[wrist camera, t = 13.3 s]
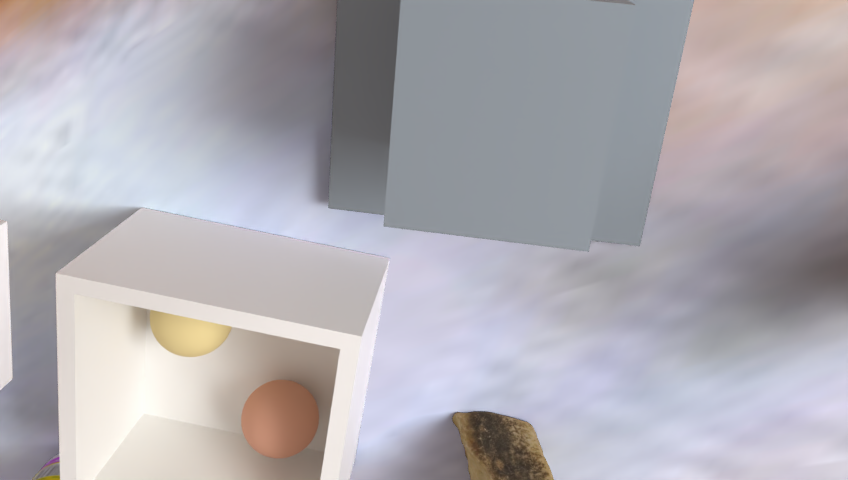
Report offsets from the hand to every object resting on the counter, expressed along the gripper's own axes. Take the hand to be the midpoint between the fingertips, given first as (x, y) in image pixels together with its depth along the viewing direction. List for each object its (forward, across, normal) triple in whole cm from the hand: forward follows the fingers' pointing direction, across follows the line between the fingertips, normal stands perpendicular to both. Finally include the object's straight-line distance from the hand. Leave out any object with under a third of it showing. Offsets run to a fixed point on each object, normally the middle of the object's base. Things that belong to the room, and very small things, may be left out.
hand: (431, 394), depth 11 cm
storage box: (+25, +9, +16) cm, 31 cm away
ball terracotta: (+22, +7, +19) cm, 30 cm away
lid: (+26, -1, -1) cm, 26 cm away
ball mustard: (+22, +12, +14) cm, 29 cm away
